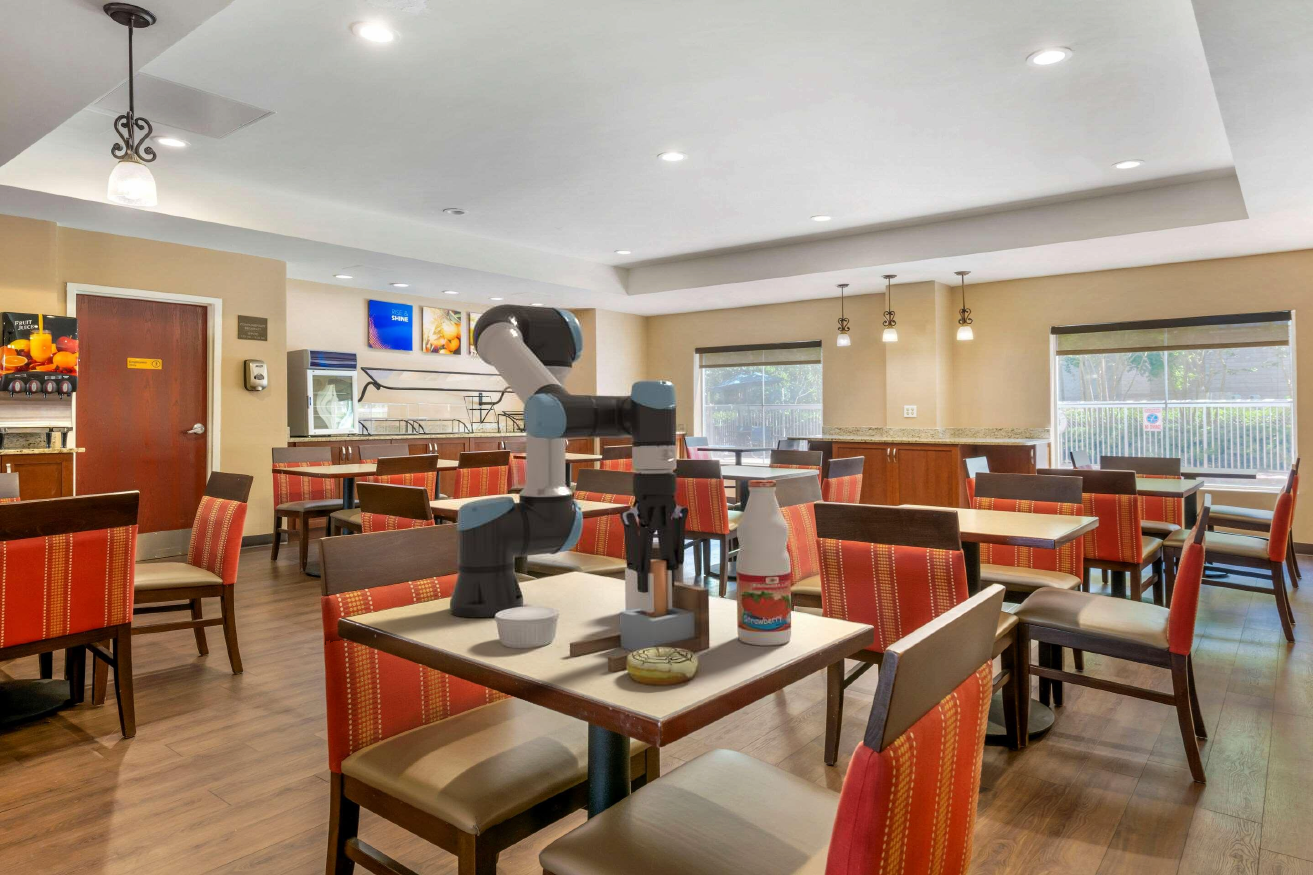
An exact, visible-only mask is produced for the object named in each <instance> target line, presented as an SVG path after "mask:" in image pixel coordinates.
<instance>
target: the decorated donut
mask: <svg viewBox="0 0 1313 875" xmlns="http://www.w3.org/2000/svg"><path fill="white" fill-rule="evenodd" d="M632 652H633V651H632ZM698 663H699V659H698V657H697V656H696V655H695V653H694V652H690V651H688V650H685V649H680V648H670V647H652V648H645V649H641V650H637V651H635V652H633V653H631V654H629V655H628V657H627V661H626V664H627V666H626V667H627V669H626V671H627V672H628V673H629V675H630V677H631V678H632V679H633V680H634V681H636V682H637V683H641V684H643V685H656V686H671V685H675V684H680V683H684V682H686V681H690V680H692V678H694V677H695V676H696V674H697V671H698V668H699V666H698V665H699V664H698Z"/></svg>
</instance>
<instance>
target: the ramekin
mask: <svg viewBox="0 0 1313 875" xmlns="http://www.w3.org/2000/svg"><path fill="white" fill-rule="evenodd" d="M559 618H560V611H559V609H557V608H554V607H550V606H540V605H539V606H538V605H529V606H528V605H527V606H523V607H517V608H511V609H506V610H503V611H500V612H498V613H497V614H495V616H494V621H495V622H496V628H497V634H498V638H499V641H500V643H501V644H502V645H503V646H504V647H506V648H507V647H508V648H510V647H511V648H512V649H534V648H540V647H543V646H547V645H549V644H551V643H553V641H554V640H555V637H556V634H557V626H558V619H559Z"/></svg>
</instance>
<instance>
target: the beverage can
mask: <svg viewBox="0 0 1313 875" xmlns="http://www.w3.org/2000/svg"><path fill="white" fill-rule="evenodd" d="M624 586H625V587H624V590H625V591H624V592H625V596H624V597H625V598H624V599H625V602H624V603H625V611H628V610H633V609H638V608H641V592H638V589H637V586H638V585H637V572H636V571H633V570H630V569H628V568H627V566H626V567H625V569H624Z"/></svg>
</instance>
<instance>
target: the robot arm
mask: <svg viewBox="0 0 1313 875" xmlns="http://www.w3.org/2000/svg"><path fill="white" fill-rule="evenodd" d="M472 344H473V347H474V350H475V352H476V353H477V355H478V356H479V358H480V359H481V360H482V361H483V362H484V363H485V364H486V365H488V366H491V367H494V369H495V370H496V371H497V373H499V375H500V376H501V377H502V379H503V380H504V381H505V383H506V384H507V385H508V386H509V387H510V389H511V390H512V391H513V392H514V394H515V395H516V397H517V398H518V399H519V400H520V402H522V405H524V407H523V413H522V414H523V415H522V417H523V424H524V425H525V439H526V440H525V443H526V444H525V449H526V450H525V451H526V452H525V461H526V462H525V464H526V465H525V468H526V469H525V471H526V472H525V473H526V474H525V477H526V480H525V482H526V485H525V486H524V488H523V489H522V490H521V491H520V492H519V496H518V499H519V502H515V500H514V498H513V497H512V496H498V497H497V496H496V497H488V498H482V499H477V500H472V501H470V502H469V501H468V502H467V503H464V504H463V505H461V506H460V507H459V509H458V511H457V525H456V530H457V578H456V581H455V585H454V587H453V591H452V594H451V596H450V601H449V612H451V613H452V614H451V613H450V614H451V615H453V614H454V615H453V616H456V615H457V617H461V616H465V617H464V618H493V617H494V618H495V614H497V613H498V612H500V611H503V610H506V609H511V608H517V607H524V596H523V592H522V590H521V588H520V583H519V581H518V578H517V575H516V571H515V558H520V557H529V556H536V555H537V556H538V555H548V554H549V555H555V554H558V553H564V552H565V553H566V552H568V551H571V550H572V549H573V548H574V547H575V546H576V545H577V543H578V542H579V539H580V538H581V535H582V532H583V527H584V526H583V524H584V516H583V515H584V514H583V511H582V506H581V504H580V503H579V502H578V501H577V500H576V499H573V492H572V491H571V489H570V488H569V487H568V486H567V485H566V439H582V438H583V439H584V438H585V439H587V438H588V439H589V438H590V439H593V438H594V439H595V438H597V439H599V438H603V439H604V438H605V439H607V438H610V439H624V438H631V440H632V441H631V442H632V444H631V446H632V448H631V449H632V450H631V455H632V456H631V457H632V459H631V460H632V461H631V464H632V465H631V466H632V467H631V469H632V470H633V471H635V473H633V475H632V493H633V495H634V502H633V504H632V508H631V509H629V510H627V511H621V512H620V515H619V517H620V519H621V522H622V525H623V533H624V546H625V548H624V549H625V562H626V567H627V568H628V569H630V570H633V571H636V572H637V585H638V586H637V589H638V592H641V610H642V611H646V612H649V613H652V612H654V573H649V571H650V563H651V554H652V545H653V542H654V536H655V533H656V534H657V540H658V541H657V542H659V548H660V555H661V560H665V561H666V581H667V609H672V588H674V570H678V568H679V566H678V565H679V564H680V565H682V564H683V565H684V564H685V563H684V562H685V548H686V547H685V543H686V524H687V518H688V515H689V508H688V507H684V506H683V507H682V506H680V505H678V503H677V500H676V498H675V495H676V494H677V492H678V482H677V481H678V480H677V479H678V478H677V477H678V476H677V474H676V472H674V470H676V469H677V406H678V405H677V401H676V390H675V389H676V388H675V385H674V384H673V383H672V382H671V381H668V380H640V381H635V382H633V384H632V385H631V391H630V395H587V394H571V393H570V392H569V391H567V389H566V377H567V376H568V375H569V373H571V372H572V371H573V363H576V362H577V361H579V359H580V358H581V356H582V351H583V348H584V347H583V345H584V340H583V332H582V327H581V325H580V322H579V320H578V319H577V318H576V316H575V315H574V314H573V313H572V312H571V311H569V310H567V309H560V308H556V307H545V306H533V305H532V306H530V305H522V304H521V305H519V304H510V303H509V304H508V303H507V304H506V303H504V304H499V305H496V306H493V307H491V308H489V309H488V310H486V311H485V312H483V313H482V314H481V315H480V316H479V317H478V318H477V320H476V322H475V324H474V327H473V329H472Z"/></svg>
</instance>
